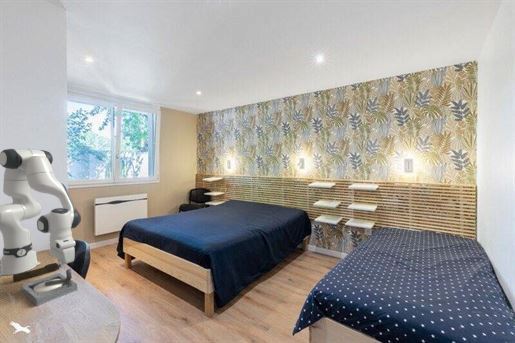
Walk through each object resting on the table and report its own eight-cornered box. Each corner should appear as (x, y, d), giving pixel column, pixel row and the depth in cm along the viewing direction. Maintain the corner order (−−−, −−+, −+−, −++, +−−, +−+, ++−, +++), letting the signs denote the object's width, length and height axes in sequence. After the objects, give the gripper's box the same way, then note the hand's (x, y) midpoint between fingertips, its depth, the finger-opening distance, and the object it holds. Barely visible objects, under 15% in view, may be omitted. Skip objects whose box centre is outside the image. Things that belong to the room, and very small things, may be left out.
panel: (21, 291, 118) (20, 285, 118) (60, 277, 131) (60, 272, 131) (37, 305, 106) (36, 298, 106) (78, 289, 120) (78, 283, 119)
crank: (39, 285, 121) (38, 270, 121) (75, 279, 127) (74, 265, 127) (29, 296, 111) (28, 280, 111) (68, 289, 117) (67, 274, 117)
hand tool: (13, 283, 126) (12, 275, 126) (13, 281, 129) (12, 272, 129) (60, 271, 140) (59, 263, 140) (59, 269, 143) (58, 261, 142)
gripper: (45, 238, 128) (46, 264, 128) (61, 246, 116) (62, 275, 117) (60, 235, 133) (61, 260, 134) (77, 243, 122) (77, 270, 122)
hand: (62, 267), depth 125 cm, fingers closed
